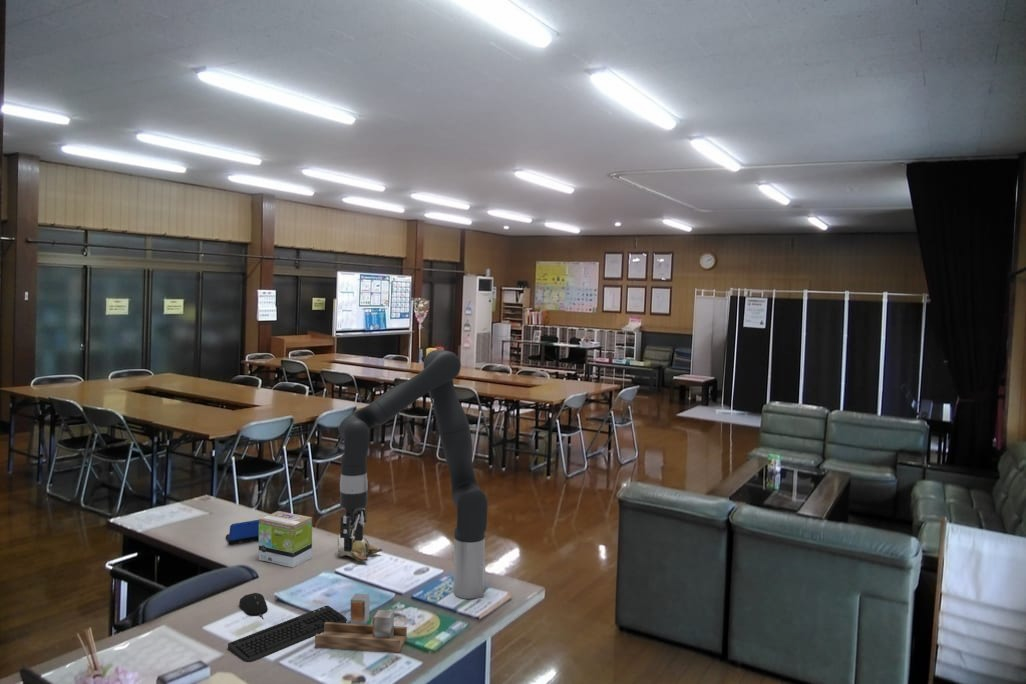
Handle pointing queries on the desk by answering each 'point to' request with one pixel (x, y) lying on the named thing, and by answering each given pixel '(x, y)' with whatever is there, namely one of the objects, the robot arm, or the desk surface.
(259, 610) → the gaming mouse
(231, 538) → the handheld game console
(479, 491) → the robot arm
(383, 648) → the rail
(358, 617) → the gray metallic block
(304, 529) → the tea box
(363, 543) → the ceramic sculpture
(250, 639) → the keyboard
